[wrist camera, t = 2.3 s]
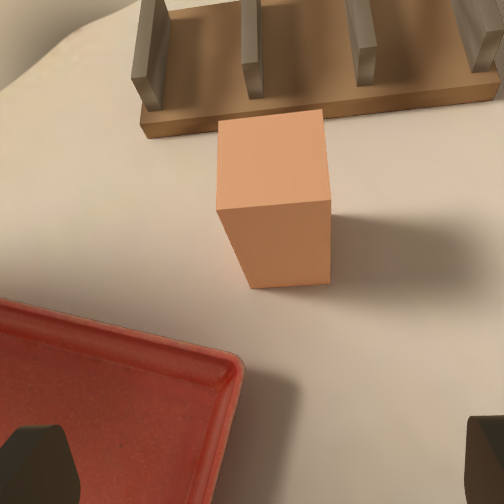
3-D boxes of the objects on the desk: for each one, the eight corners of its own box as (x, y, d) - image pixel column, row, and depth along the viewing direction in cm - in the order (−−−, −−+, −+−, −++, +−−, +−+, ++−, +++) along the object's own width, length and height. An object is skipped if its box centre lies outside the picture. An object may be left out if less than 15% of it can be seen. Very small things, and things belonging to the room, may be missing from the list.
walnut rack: (147, 138, 32) (121, 91, 28) (159, 30, 36) (138, -24, 32) (492, 99, 29) (519, 40, 25) (457, -13, 33) (475, -79, 29)
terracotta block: (250, 288, 26) (216, 210, 18) (250, 220, 28) (218, 121, 20) (330, 283, 25) (331, 199, 17) (323, 213, 27) (322, 109, 19)
